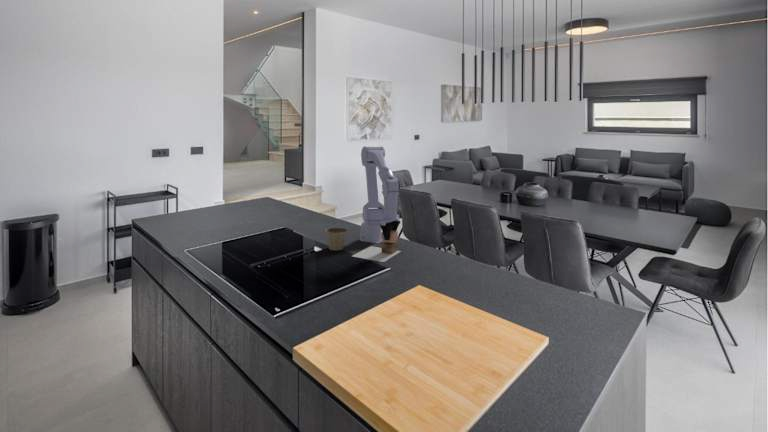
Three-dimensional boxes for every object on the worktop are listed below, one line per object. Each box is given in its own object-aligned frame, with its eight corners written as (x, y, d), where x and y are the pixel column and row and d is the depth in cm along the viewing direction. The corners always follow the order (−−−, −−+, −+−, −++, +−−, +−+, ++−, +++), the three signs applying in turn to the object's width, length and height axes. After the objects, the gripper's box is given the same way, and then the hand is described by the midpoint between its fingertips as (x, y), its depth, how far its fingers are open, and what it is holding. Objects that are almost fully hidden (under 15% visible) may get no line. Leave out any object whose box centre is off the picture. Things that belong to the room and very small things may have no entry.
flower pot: (348, 246, 193) (348, 228, 191) (344, 252, 183) (344, 233, 182) (328, 245, 193) (328, 226, 192) (323, 251, 184) (323, 232, 182)
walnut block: (381, 252, 184) (381, 243, 183) (386, 249, 188) (386, 240, 187) (392, 254, 182) (392, 245, 181) (396, 251, 186) (397, 242, 185)
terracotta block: (381, 241, 183) (382, 232, 182) (387, 238, 187) (387, 229, 186) (392, 242, 180) (392, 233, 180) (397, 240, 185) (397, 231, 184)
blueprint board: (351, 257, 178) (351, 256, 178) (370, 247, 193) (370, 246, 193) (383, 263, 171) (383, 262, 171) (401, 252, 186) (401, 251, 186)
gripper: (391, 211, 173) (390, 243, 175) (406, 205, 185) (404, 235, 188) (376, 209, 176) (375, 241, 178) (391, 203, 188) (390, 233, 191)
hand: (389, 238), depth 184 cm, fingers closed on terracotta block, 5 cm apart
